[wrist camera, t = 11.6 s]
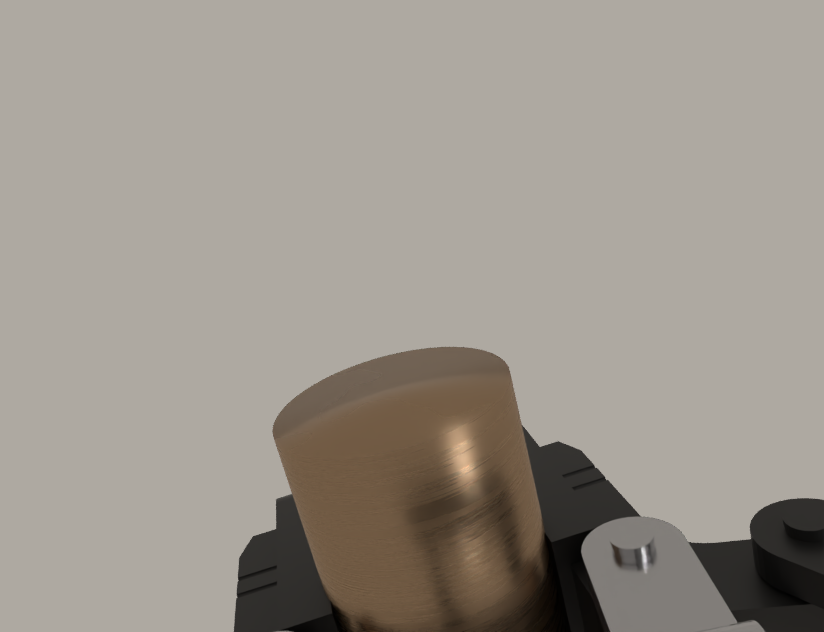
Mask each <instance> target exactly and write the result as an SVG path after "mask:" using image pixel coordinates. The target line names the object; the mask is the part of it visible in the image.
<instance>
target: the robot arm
mask: <svg viewBox="0 0 824 632" xmlns="http://www.w3.org/2000/svg"><path fill="white" fill-rule="evenodd" d="M522 429H523V433H524V438H525V442H526V447H527V451H528V456H529V460H530V465H531V469H532V474H533V478H534V483H535V487H536V492H537V496H538V501H539V505H540V510H541V514H542V519H543V523H544V532H545V536H546V541H547V545H548V550H549V554H550V559H551V563H552V568H553V572H554V577H555V581H556V586H557V590H558V595H559V599H560V604H561V608H562V613H563V617H564V622H565V626H566V631H567V632H824V500H820V499H809V498H804V499H803V498H802V499H790V500H784V501H779V502H776V503H773V504H770V505H768V506H766V507H764V508H763V509H761V510H760V511H759V512H758V513H757V514H755V516H754V517H753V519H752V520H751V524H750V533H751V539H750V540H740V541H730V542H721V543H691V542H688V541H687V539H686V538H685V536H684V535H683V534H682V532H681V531H680V530H679V529H677V528H676V527H675V526H673V525H672V524H670V523H668V522H665V521H663V520H659V519H655V518H649V517H641V516H640V515H639V514H638V513H637V512H636V511H635V509H633V507H632V506H631V505H630V504H629V503H628V502H627V501H626V500H625V498H623V496H622V495H621V494H620V493H619V492H618V491H617V490H616V489H615V488H614V487H613V485H612V484H611V483H610V482H609V481H608V480H606V479H605V477H604V475H603V474H602V473H601V472H600V471H599V470H598V469H597V468H595V466H594V465H593V463H592V462H591V461H590V460H589V459H588V458H587V457H586V456H585V454H584V453H583V452H582V451H581V450H578V449H576V448H573V447H571V446H568V445H566V444H563V443H561V442H555V443H552V444H548V445H545V446H542V447H539V446H538V444H537V443H536V442H535V441H534V439H533V438H532V437H531V436H530V434H529V433H528V432H527V430H526V429H525V428H524V427H523V426H522ZM276 522H277V523H276V529H275V530H272V531H269V532H266V533H262V534H259V535H256V536H253V537H252V539H251V540H250V542H249V544H248V545H247V547H246V548H245V550H244V552H243V553H242V554H241V556H240V558H239V571H238V580H239V581H238V585H237V597H238V598H237V599H236V611H235V626H234V632H341V631H340V628H339V625H338V622H337V619H336V616H335V613H334V610H333V607H332V604H331V601H330V600H329V598H328V597H327V595H326V593H325V591H324V589H323V586H322V583H321V580H320V577H319V574H318V571H317V568H316V565H315V562H314V559H313V555H312V552H311V549H310V546H309V543H308V540H307V537H306V534H305V531H304V528H303V525H302V522H301V519H300V516H299V513H298V510H297V507H296V504H295V501H294V498H293V495H292V494H291V495H288V496H285V497H281V498H278V499H277V500H276Z"/></svg>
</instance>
